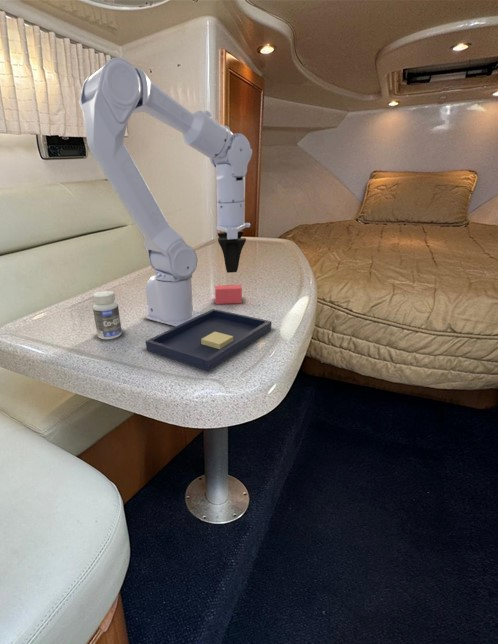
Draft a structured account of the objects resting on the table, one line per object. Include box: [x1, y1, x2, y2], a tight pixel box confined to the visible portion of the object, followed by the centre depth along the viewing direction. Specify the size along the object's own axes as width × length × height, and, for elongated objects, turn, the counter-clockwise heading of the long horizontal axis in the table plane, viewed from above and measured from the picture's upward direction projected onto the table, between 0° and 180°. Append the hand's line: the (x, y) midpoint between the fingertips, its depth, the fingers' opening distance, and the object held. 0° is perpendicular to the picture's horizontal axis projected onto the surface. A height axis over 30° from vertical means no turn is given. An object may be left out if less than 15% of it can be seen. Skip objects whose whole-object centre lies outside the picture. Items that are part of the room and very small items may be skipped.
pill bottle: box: [92, 290, 123, 340], centre depth 69 cm, size 5×5×8 cm
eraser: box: [214, 284, 243, 305], centre depth 85 cm, size 6×3×4 cm, turn 86°
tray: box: [145, 308, 272, 372], centre depth 66 cm, size 14×20×2 cm
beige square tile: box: [201, 332, 233, 349], centre depth 63 cm, size 4×4×1 cm
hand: (231, 267), depth 81 cm, fingers open, 7 cm apart
